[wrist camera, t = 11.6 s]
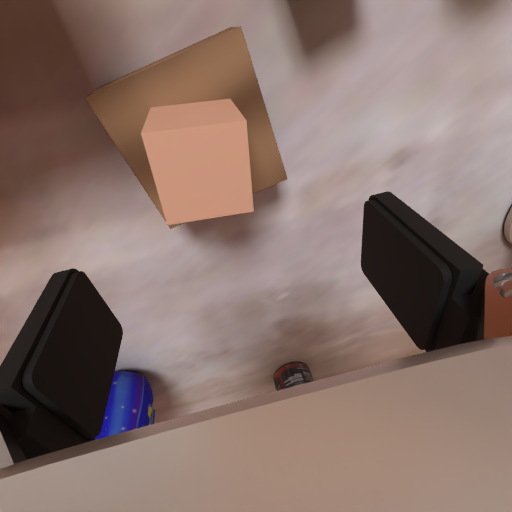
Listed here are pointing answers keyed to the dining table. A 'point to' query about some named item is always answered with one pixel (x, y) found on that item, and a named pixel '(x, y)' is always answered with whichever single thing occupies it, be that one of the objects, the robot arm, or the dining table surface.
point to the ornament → (127, 404)
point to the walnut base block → (190, 91)
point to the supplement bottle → (292, 376)
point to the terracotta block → (199, 160)
